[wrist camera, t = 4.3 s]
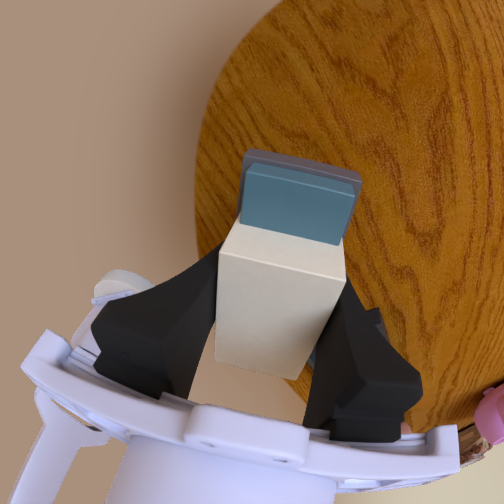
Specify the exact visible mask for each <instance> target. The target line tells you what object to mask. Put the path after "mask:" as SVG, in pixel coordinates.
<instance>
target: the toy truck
mask: <svg viewBox="0 0 504 504" xmlns="http://www.w3.org/2000/svg"><path fill="white" fill-rule="evenodd" d="M362 184H363V182H362V179H361V177H360V174H359V173H358V172H355V171H351V170H348V169H344V168H340V167H336V166H332V165H328V164H324V163H320V162H316V161H312V160H307V159H303V158H298V157H294V156H289V155H284V154H279V153H274V152H269V151H263V150H258V149H252V148H250V149H249V150H248V151H247V152H246V153H245V154H244V155H243V162H242V171H241V180H240V188H239V197H238V206H237V216H236V221H235V223H234V225H233V227H232V229H231V230H230V232H229V234H228V236H227V238H226V240H225V242H224V243H223V245H222V247H221V249H220V251H219V259H218V276H217V295H216V317H215V343H214V361H215V362H218V363H222V364H226V365H230V366H234V367H237V368H241V369H245V370H249V371H253V372H258V373H262V374H267V375H271V376H275V377H280V378H285V379H290V380H297V378H298V376H299V374H300V373H301V371H302V369H303V367H304V365H305V364H306V362H307V360H308V358H309V356H310V354H311V352H312V351H313V349H314V347H315V345H316V343H317V341H318V339H319V337H320V335H321V333H322V331H323V329H324V327H325V325H326V323H327V321H328V319H329V317H330V315H331V313H332V311H333V309H334V307H335V305H336V303H337V300H338V298H339V296H340V294H341V292H342V290H343V287H344V285H345V283H346V272H345V260H344V250H343V241H344V238H345V235H346V232H347V229H348V227H349V224H350V221H351V218H352V215H353V212H354V209H355V206H356V203H357V200H358V196H359V193H360V190H361V187H362Z"/></svg>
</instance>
